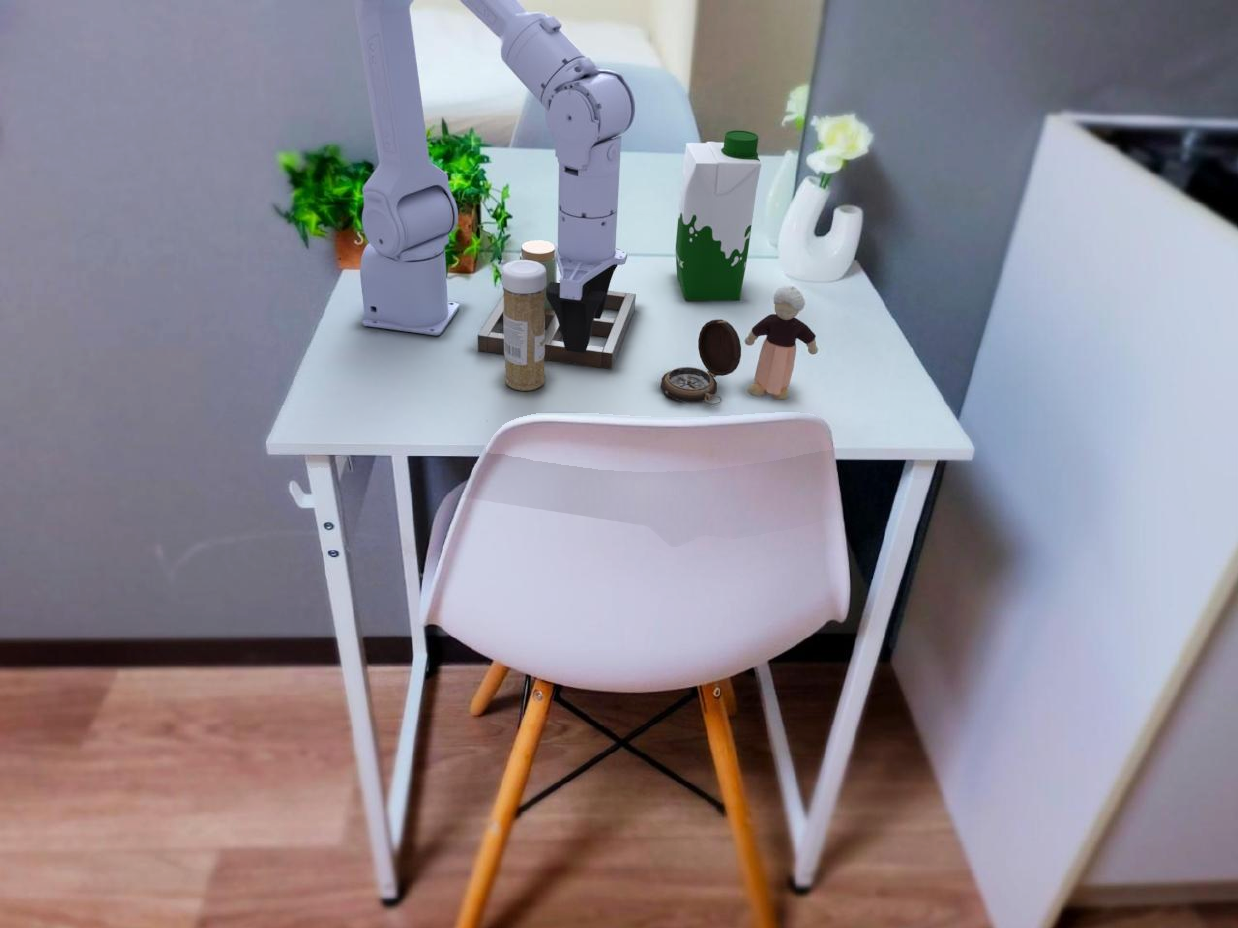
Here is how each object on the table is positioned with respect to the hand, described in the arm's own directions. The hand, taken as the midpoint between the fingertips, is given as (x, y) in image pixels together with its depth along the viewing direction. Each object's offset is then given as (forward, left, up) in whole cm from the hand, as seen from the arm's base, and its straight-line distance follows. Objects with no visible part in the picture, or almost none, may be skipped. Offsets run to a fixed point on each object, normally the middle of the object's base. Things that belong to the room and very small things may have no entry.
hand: (583, 333), depth 103 cm
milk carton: (+10, +29, -7) cm, 32 cm away
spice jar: (-9, +17, -7) cm, 20 cm away
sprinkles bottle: (-6, 0, -7) cm, 10 cm away
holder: (-6, +13, -7) cm, 16 cm away
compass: (+12, +3, -7) cm, 15 cm away
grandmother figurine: (+20, +5, -7) cm, 22 cm away
